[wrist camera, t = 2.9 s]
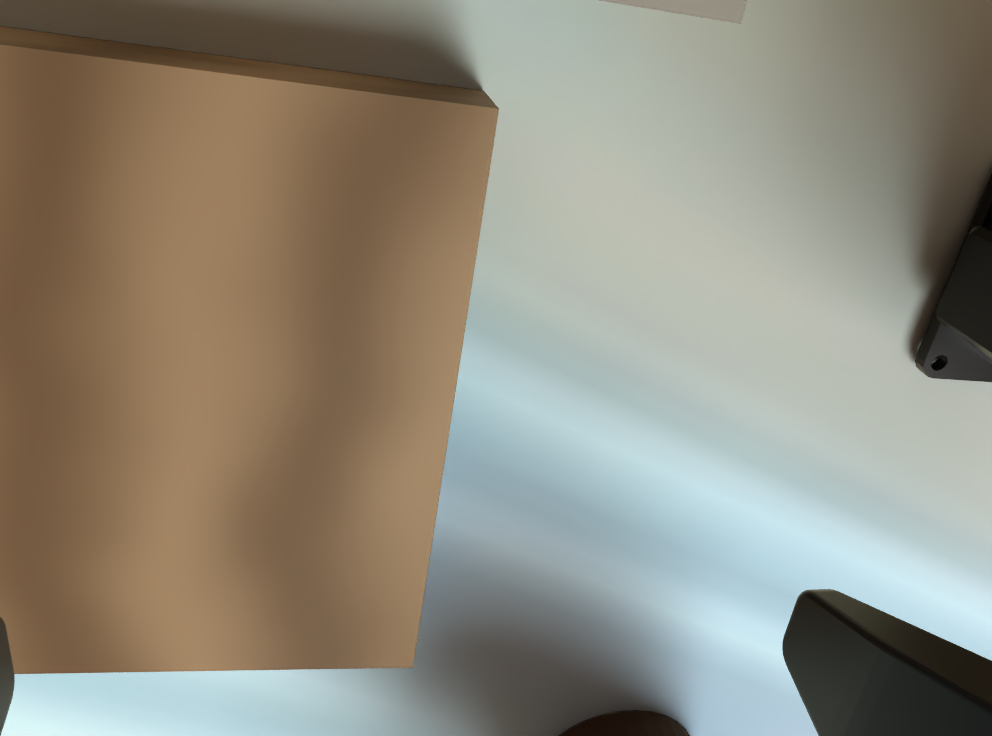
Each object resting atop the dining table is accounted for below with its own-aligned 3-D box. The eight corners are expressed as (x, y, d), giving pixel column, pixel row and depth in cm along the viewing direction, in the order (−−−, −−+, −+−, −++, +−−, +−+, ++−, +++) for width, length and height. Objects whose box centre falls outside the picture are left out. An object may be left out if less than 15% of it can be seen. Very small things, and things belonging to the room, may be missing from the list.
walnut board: (483, 91, 20) (498, 109, 18) (407, 618, 27) (412, 667, 25) (-473, -37, 16) (-571, -30, 14) (-270, 620, 23) (-318, 678, 21)
